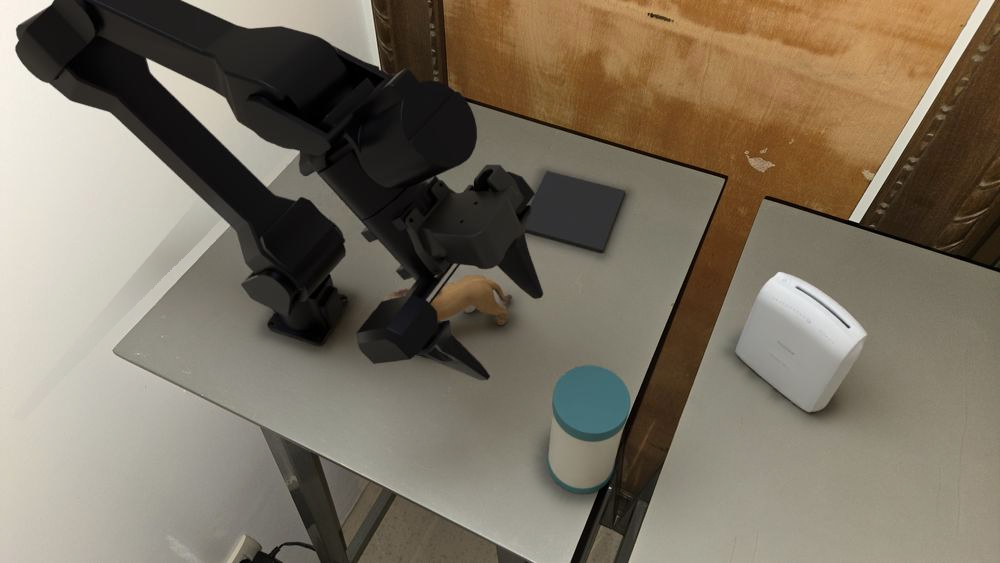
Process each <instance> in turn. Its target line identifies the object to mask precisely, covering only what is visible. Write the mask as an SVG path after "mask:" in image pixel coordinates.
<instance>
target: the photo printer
mask: <svg viewBox="0 0 1000 563" xmlns="http://www.w3.org/2000/svg"><path fill="white" fill-rule="evenodd" d="M742 329H743V330H742V332H741V334H740V336H739V339H738V341H737V344H736V347H735V350H734V351H735V354H736V355H737V356H738V357H739V359H740V360H742V362H744V363H745V364H746V365H747V366H748V367H749V368H750V369H751V370H753V371H754V372H755V373H756V374H757V375H758V376H760V378H762V379H763V380H764V381H766V382H767V383H768V384H770V386H772V387H773V388H774V389H775V390H777V391H778V392H779V393H780V394H782V395H783V396H784V397H786V398H787V399H788V400H789V401H791V402H792V403H793V404H795V405H796V406H797V407H798V408H800V409H802V410H803V411H805V412H806V413H811V412H812V413H814V412H815V413H816V412H819V411H821V410H823V409H824V408H826V406H827V405H828V404H829V402H830V401H831V399H832V397H833V396H834V395H835V393H836V392H837V390H838V389H839V387H840V385H841V384H842V383H843V381H844V379H845V378H846V376H847V375H848V373H849V371H851V368H852V367H853V366H854V364H855V363H856V361H857V359H858V358H859V356H861V353H862V351H863V348H864V344H865V342H866V340H867V338H868V333H867V331H866V330H865V329H864V328H863V327H862V325H861V324H860V323H859V322H858V320H856V318H855V317H854V316H852V315H851V313H850V312H848V311H847V310H846V309H845V308H844V307H843V306H842V305H841V304H839V303H838V302H837V301H835V299H833V298H832V297H831V296H829V295H827V294H826V293H824V291H822V290H821V289H819V288H817V287H816V286H815V285H812V284H810V283H809V282H807V281H806V280H804V279H801V278H799V277H798V276H795V275H793V274H789V273H787V272H782V271H778V272H776V274H775V275H774V276H772V277H771V278H770V279H768V280H767V282H765V284H764V285H762V287H761V288H760V291H759V292H758V294H757V296H756V298H755V301H754V303H753V305H752V308H751V310H750V314H749V315H748V318H747V320H746V322H745V325H744V327H743V328H742Z"/></svg>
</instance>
